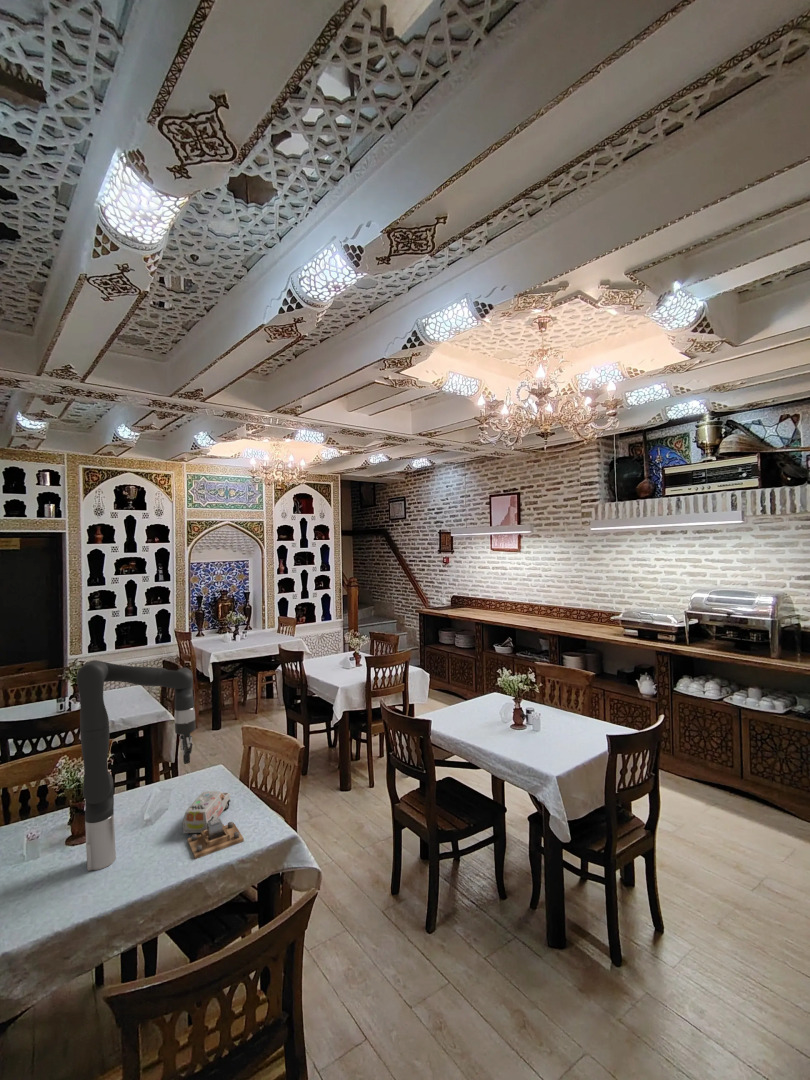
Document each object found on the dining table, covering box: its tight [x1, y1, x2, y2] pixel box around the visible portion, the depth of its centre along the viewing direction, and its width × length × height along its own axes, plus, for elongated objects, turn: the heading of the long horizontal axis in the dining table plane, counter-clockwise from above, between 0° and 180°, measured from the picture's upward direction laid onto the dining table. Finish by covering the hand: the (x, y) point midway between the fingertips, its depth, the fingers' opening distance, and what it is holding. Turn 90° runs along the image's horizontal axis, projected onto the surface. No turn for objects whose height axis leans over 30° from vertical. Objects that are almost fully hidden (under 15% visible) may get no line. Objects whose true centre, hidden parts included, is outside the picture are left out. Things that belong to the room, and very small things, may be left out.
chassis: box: [187, 821, 245, 860], centre depth 201 cm, size 18×14×3 cm
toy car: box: [182, 790, 232, 834], centre depth 217 cm, size 11×25×10 cm, turn 177°
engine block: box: [207, 818, 224, 841], centre depth 201 cm, size 5×4×7 cm
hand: (186, 763), depth 202 cm, fingers closed
